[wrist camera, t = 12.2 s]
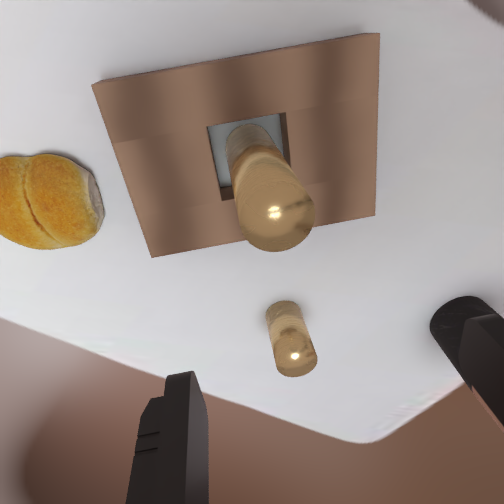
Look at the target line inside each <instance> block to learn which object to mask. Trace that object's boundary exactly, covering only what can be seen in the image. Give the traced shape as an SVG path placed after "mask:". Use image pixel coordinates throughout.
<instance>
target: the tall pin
mask: <svg viewBox="0 0 504 504" xmlns="http://www.w3.org/2000/svg"><path fill="white" fill-rule="evenodd" d="M226 156H227V161H228V166H229V171H230V177H231V182H232V187H233V192H234V197H235V202H236V208H237V213H238V218H239V223H240V228H241V231H242V233H243V235H244V237H245V238H246V240H247V241H248V242H249V243H250V244H252V245H253V246H254V247H256V248H258V249H261V250H264V251H269V252H279V251H284V250H288V249H290V248H293V247H295V246H296V245H298V244H299V243H300V242H302V241H303V240H304V239H305V238H306V237H307V235H308V234H309V233H310V231H311V229H312V227H313V224H314V220H315V207H314V204H313V201H312V199H311V198H310V196H309V195H308V193H307V192H306V190H305V189H304V187H303V186H302V184H301V183H300V181H299V180H298V178H297V177H296V175H295V174H294V172H293V171H292V169H291V168H290V166H289V165H288V163H287V162H286V160H285V158H284V157H283V155H282V154H281V152H280V151H279V149H278V148H277V146H276V145H275V143H274V142H273V140H272V139H271V137H270V136H269V134H268V133H267V132H266V131H265V130H264V129H263V128H261V127H260V126H257V125H254V124H245V125H241V126H239V127H237V128H236V129H234V130H233V131H232V132H231V134H230V135H229V137H228V139H227V142H226Z"/></svg>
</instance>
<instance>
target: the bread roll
mask: <svg viewBox="0 0 504 504" xmlns="http://www.w3.org/2000/svg"><path fill="white" fill-rule="evenodd" d="M103 217H104V212H103V206H102V200H101V196H100V193H99V190H98V187H97V185H96V181H95V179H94V177H93V175H92V174H91V173H90V172H89V171H87V170H86V169H84V168H82V167H81V166H79V165H77V164H76V163H74V162H73V161H71V160H69V159H67V158H65V157H61V156H57V155H52V154H40V155H36V156H32V157H19V156H11V157H4V158H1V159H0V234H1V235H2V236H3V237H5V238H7V239H9V240H11V241H13V242H15V243H18V244H20V245H23V246H26V247H29V248H33V249H42V250H44V249H48V250H51V249H58V248H64V247H70V246H77V245H80V244H82V243H84V242H86V241H87V240H89V239H91V238H92V237H93V236H95V234H96V233H97V232H98V231H99V229H100V226H101V223H102V220H103Z"/></svg>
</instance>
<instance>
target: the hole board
mask: <svg viewBox="0 0 504 504" xmlns="http://www.w3.org/2000/svg"><path fill="white" fill-rule="evenodd" d="M379 48H380V33H363V34H357V35H352V36H346V37H340V38H335V39H329V40H324V41H318V42H313V43H307V44H301V45H296V46H290V47H285V48H279V49H274V50H268V51H263V52H257V53H251V54H246V55H240V56H235V57H229V58H224V59H218V60H212V61H207V62H201V63H196V64H190V65H185V66H179V67H174V68H168V69H162V70H157V71H151V72H146V73H140V74H135V75H129V76H123V77H118V78H112V79H107V80H101V81H99V82H97V83H95V84H92V85H91V86H92V89H93V92H94V95H95V98H96V100H97V103H98V106H99V109H100V112H101V115H102V118H103V120H104V123H105V126H106V129H107V132H108V135H109V138H110V140H111V143H112V146H113V149H114V152H115V155H116V158H117V160H118V163H119V166H120V169H121V172H122V175H123V178H124V180H125V183H126V186H127V189H128V192H129V195H130V198H131V200H132V203H133V206H134V209H135V212H136V215H137V218H138V220H139V223H140V226H141V229H142V232H143V235H144V238H145V240H146V243H147V246H148V249H149V252H150V255H151V258H154V257H159V256H165V255H170V254H175V253H180V252H186V251H191V250H196V249H201V248H207V247H212V246H217V245H222V244H228V243H233V242H238V241H244V240H246V238H245V237H244V235H243V233H242V231H241V228H240V223H239V218H238V213H237V208H236V202H235V197H234V192H233V187H232V186H230V187H224V188H220V185H219V180H218V175H217V170H216V166H215V161H214V156H213V151H212V147H211V142H210V137H209V132H208V127H207V126H212V125H218V124H223V123H229V122H234V121H240V120H245V119H251V118H256V117H261V116H267V115H272V114H278V113H280V122H281V131H282V141H283V150H284V158H285V160H286V162H287V163H288V165H289V166H290V168H291V169H292V171H293V172H294V174H295V175H296V177H297V178H298V180H299V181H300V183H301V184H302V186H303V187H304V189H305V190H306V192H307V193H308V195H309V196H310V198H311V199H312V201H313V204H314V207H315V220H314V224H313V227H317V226H322V225H328V224H333V223H338V222H343V221H349V220H354V219H359V218H365V217H370V216H375V199H376V161H377V123H378V86H379Z"/></svg>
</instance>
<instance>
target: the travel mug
mask: <svg viewBox="0 0 504 504" xmlns="http://www.w3.org/2000/svg"><path fill="white" fill-rule="evenodd" d="M490 314H497V315H499V314H498V313H497V312H496V311H494V310H493V309H492V308H491V307H490V306H489V305H487V304H486V303H485V302H484V301H483V300H481V299H479V298H477V297H472V296H466V297H460V298H457V299H454V300H452V301H450V302H448V303H446V304H445V305H443V306H442V307H441V308H440V309H439V310H438V311H437V312H436V313H435V314H434V316H433V318H432V320H431V323H430V331H431V334H432V335H433V337H434V339H435V340H436V341H437V343H438V344H439V346H440V347H441V349H442V350H443V351H444V353H445V354H446V356H447V357H448V358H449V360H450V361H451V363H452V364H453V365H454V367H455V368H456V370H457V371H458V373H459V374H460V375H461V377H462V378H463V380H464V381H465V382H466V384H467V385H468V387H469V388H470V389H471V391H472V392H473V393H474V395H475V396H476V398H477V399H478V400H479V401H480V403H481V404H482V405H483V407H484V408H485V409H486V411H487V412H488V413H489V414H490V416H491V417H492V418H493V419H494V421H495V422H496V424H497V425H498V426H499V427H500V429H501V430H502V431H503V433H504V427H503V425H502V424H501V423H500V421H499V420H498V419H497V417H496V416H495V415H494V413H493V412H492V411H491V410H490V408H489V407H488V406H487V404H486V403H485V402H484V400H483V399H482V398H481V396H480V395H479V394H478V392H477V391H476V390H475V389H474V387H473V386H472V385H471V383H470V382H469V381H468V379H467V378H466V377H465V375H464V374H463V372H462V370H461V367H460V364H459V359H458V354H459V349H460V344H461V339H462V334H463V329H464V324H465V321H466V320H467V319H469V318H474V317H479V316H484V315H490ZM499 316H500V315H499Z"/></svg>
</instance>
